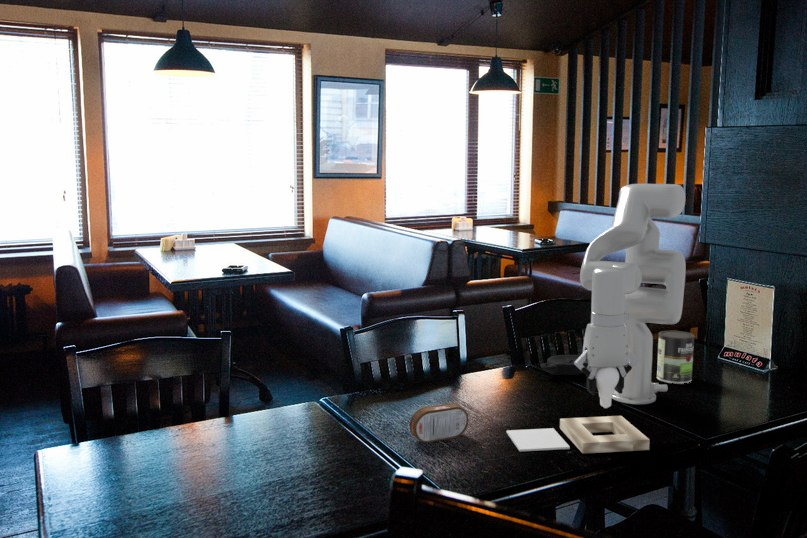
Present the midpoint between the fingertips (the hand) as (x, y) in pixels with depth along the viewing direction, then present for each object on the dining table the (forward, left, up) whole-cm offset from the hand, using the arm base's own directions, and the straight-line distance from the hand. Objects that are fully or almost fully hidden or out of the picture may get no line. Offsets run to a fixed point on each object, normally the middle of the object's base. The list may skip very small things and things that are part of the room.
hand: (605, 391), depth 176 cm
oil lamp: (-9, -53, -12) cm, 55 cm away
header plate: (0, 0, -12) cm, 12 cm away
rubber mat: (+16, -1, -12) cm, 20 cm away
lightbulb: (0, 0, -4) cm, 4 cm away
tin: (+39, -5, -12) cm, 41 cm away
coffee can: (-40, -43, -12) cm, 59 cm away
